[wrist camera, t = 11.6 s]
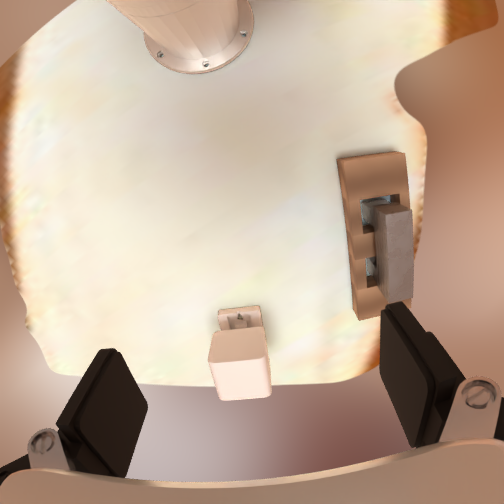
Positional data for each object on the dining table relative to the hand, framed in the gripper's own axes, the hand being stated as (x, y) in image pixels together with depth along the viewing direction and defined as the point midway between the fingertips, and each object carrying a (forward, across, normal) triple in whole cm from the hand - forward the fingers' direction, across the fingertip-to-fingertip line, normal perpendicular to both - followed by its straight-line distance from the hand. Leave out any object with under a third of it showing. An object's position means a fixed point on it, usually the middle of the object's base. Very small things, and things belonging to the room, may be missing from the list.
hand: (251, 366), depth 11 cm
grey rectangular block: (+28, -14, +7) cm, 32 cm away
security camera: (+28, +5, +17) cm, 34 cm away
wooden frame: (+28, -14, +7) cm, 32 cm away
